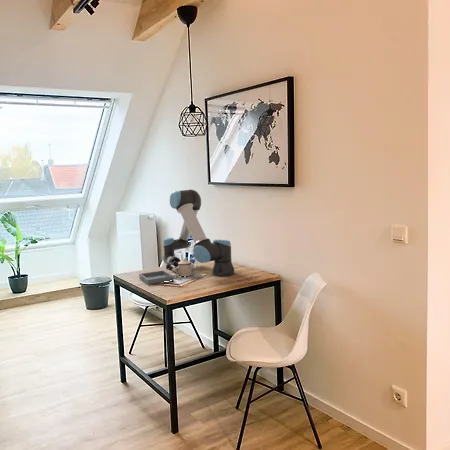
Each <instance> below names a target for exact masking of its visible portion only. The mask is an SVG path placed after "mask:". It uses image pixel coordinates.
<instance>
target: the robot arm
mask: <svg viewBox="0 0 450 450" xmlns="http://www.w3.org/2000/svg"><path fill="white" fill-rule="evenodd" d="M169 206H170V208H172V209H174V210H175V209H176V212H177V213H178V214H180V215H181V217H182V219H183V223H182V226H181V231H180V234H179V238H177V239H174V237H166V238H163V240H162V242H163V256H162V261H163V263H164V264H165V267H166V268H165V269H166V270H170V271H171V270H172V271H175V268H176V267H177V266H178V262H180V261H181V259H180V257H177V256H175V251H177V250H182V249H188V248H190V247H191V246H192V241H191V242H188V239H189V238H190V239H191V238H192V239H191V240H193V243H194V244H193V249H192V252H193V257H194V259H195V260H196V262H198V263H200V264H204V263H209V262H214V263H213V267H212V270H211V271H212V272H211V273H212V275H213V276H215V277H228V276H233V275H234V274H235V273H236V272H235V268H234V265H233V263H232V244H231V241H230V240H227V239H213V241H211V239H210V238H208V237H207V236H206V234H205V231H204V230H203V227H202V225H201V223H200V222H199V219H198V217H197V215H198V212H199V211H200V209H201V206H202V198H201V195H200V193H199V192H198V191H197V190H195V189H183V190H175V191H173V192H171V194H170V196H169ZM189 261H190V262H191V268H193V269H195V268H196V265H195V261H194V260H189ZM175 272H176V271H175Z"/></svg>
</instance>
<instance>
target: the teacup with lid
mask: <svg viewBox="0 0 450 450" xmlns="http://www.w3.org/2000/svg"><path fill="white" fill-rule="evenodd" d="M190 261H191V260H188V259H186V258H183V259H182V260H180V262H178V266H177V267H176V268H175V273H176V274H178V276H179V275H180V276H189V275H191V276H192V275H193V274H192V267H191V262H190ZM180 276H179V277H180ZM189 277H190V276H189Z"/></svg>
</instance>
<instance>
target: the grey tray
mask: <svg viewBox="0 0 450 450" xmlns="http://www.w3.org/2000/svg"><path fill="white" fill-rule="evenodd" d="M138 276H139V280H140V281H141V282H143V284H145V285H147V286H152V285H159V284H162V283H161V282H164V281H170V280H174V275H172V274H170V273H169V272H167V271H166V270H163V269H162V270H157V271H148V272H143V273H139V275H138Z"/></svg>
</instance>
